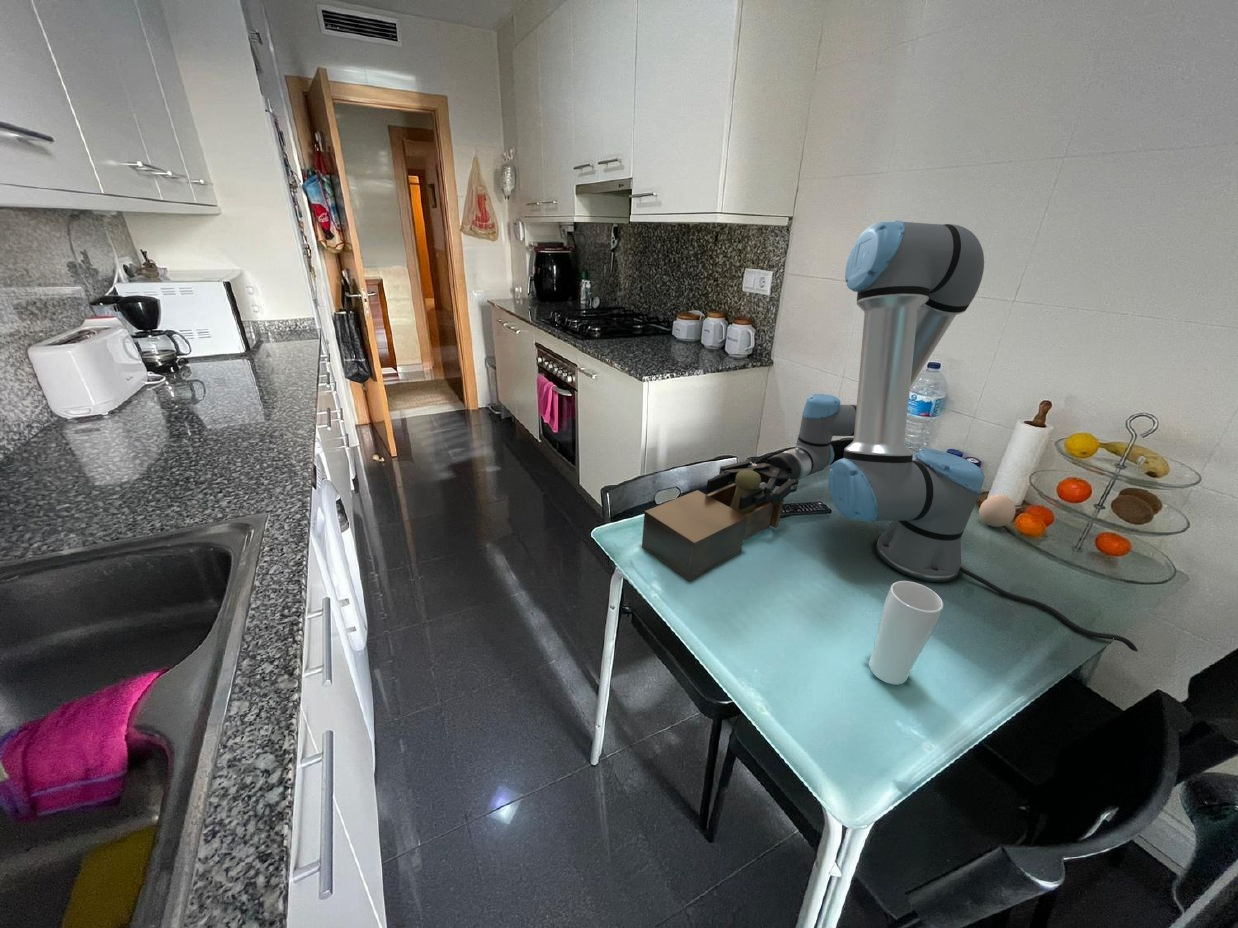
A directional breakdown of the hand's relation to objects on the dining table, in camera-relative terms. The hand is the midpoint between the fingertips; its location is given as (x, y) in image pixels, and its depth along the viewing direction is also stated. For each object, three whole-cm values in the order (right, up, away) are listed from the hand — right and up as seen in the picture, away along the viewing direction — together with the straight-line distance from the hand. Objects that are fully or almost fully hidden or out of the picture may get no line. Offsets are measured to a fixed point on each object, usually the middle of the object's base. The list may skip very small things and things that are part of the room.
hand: (724, 494), depth 104 cm
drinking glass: (+19, -26, -27) cm, 42 cm away
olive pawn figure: (+5, -6, +5) cm, 9 cm away
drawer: (+6, -7, +9) cm, 13 cm away
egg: (+66, -8, +14) cm, 68 cm away
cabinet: (-7, -11, 0) cm, 13 cm away
